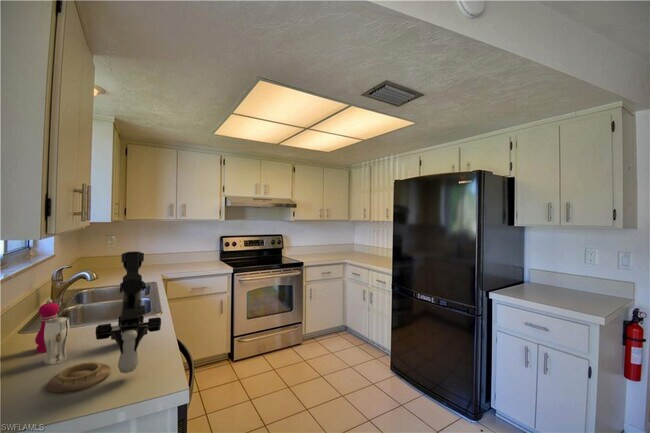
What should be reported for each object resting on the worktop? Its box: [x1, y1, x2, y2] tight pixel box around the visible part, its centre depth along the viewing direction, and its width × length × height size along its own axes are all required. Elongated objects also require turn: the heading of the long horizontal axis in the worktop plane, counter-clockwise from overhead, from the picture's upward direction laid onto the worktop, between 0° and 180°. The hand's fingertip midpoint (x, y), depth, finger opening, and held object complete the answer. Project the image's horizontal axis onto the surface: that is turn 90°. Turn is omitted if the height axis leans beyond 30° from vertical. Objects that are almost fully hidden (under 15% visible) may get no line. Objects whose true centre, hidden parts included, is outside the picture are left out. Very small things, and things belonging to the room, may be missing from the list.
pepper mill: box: [34, 298, 60, 354], centre depth 117 cm, size 7×7×20 cm
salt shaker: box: [117, 330, 140, 374], centre depth 98 cm, size 6×6×13 cm
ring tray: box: [46, 361, 111, 395], centre depth 97 cm, size 16×16×3 cm
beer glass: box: [44, 316, 71, 365], centre depth 108 cm, size 7×7×15 cm
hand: (128, 352), depth 97 cm, fingers closed on salt shaker, 3 cm apart
